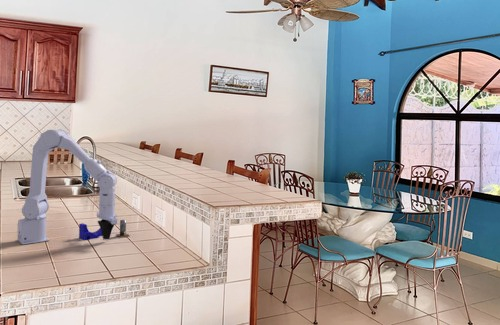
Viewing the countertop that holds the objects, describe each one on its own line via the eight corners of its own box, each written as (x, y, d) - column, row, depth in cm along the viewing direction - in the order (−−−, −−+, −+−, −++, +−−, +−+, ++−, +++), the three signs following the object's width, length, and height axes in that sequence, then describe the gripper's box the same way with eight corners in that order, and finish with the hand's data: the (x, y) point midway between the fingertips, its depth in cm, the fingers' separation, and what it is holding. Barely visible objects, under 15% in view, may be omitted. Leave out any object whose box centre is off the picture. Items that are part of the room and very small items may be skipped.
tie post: (120, 237, 163) (120, 222, 163) (116, 235, 166) (116, 220, 166) (129, 236, 166) (129, 220, 165) (125, 234, 169) (125, 218, 168)
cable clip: (85, 240, 157) (85, 226, 157) (79, 238, 160) (79, 223, 160) (112, 235, 167) (112, 221, 166) (106, 233, 170) (106, 219, 169)
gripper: (125, 206, 153) (124, 241, 154) (109, 200, 163) (108, 232, 164) (107, 208, 148) (106, 244, 149) (91, 202, 158) (91, 235, 160)
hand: (106, 238), depth 156 cm, fingers closed
